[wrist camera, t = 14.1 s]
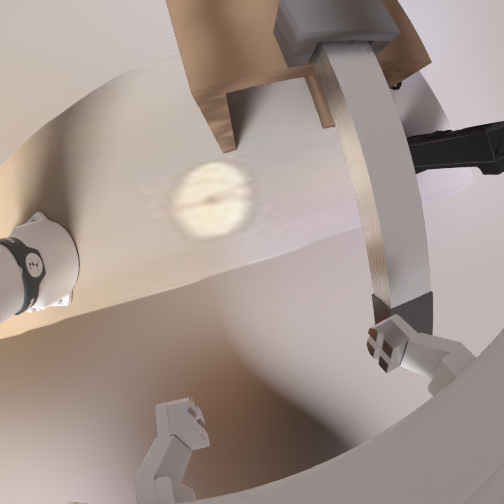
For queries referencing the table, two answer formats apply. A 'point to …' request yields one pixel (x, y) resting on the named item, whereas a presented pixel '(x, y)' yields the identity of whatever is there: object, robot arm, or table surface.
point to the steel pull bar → (379, 180)
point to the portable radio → (460, 149)
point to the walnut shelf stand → (282, 47)
